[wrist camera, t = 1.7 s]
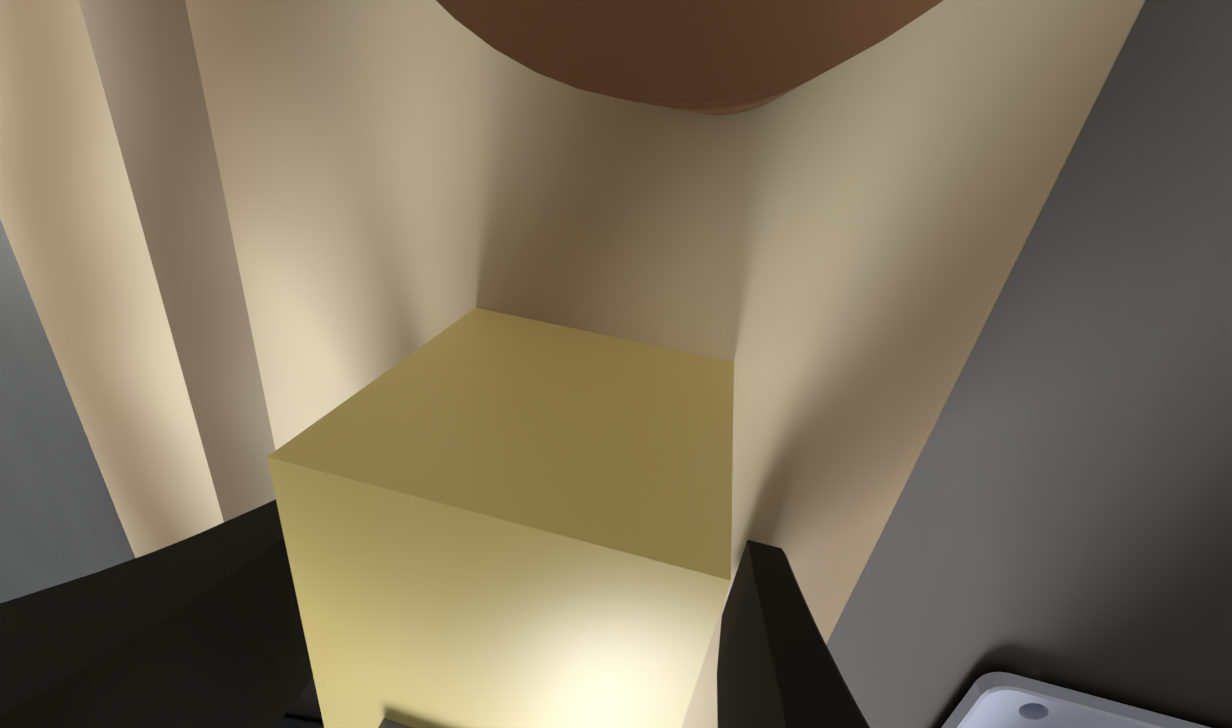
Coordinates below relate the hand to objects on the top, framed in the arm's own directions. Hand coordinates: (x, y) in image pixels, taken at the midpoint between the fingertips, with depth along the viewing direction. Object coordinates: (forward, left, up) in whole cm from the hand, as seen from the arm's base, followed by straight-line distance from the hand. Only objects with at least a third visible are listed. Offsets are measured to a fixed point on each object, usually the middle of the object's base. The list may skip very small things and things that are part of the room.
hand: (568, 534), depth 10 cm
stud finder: (0, 0, -1) cm, 1 cm away
